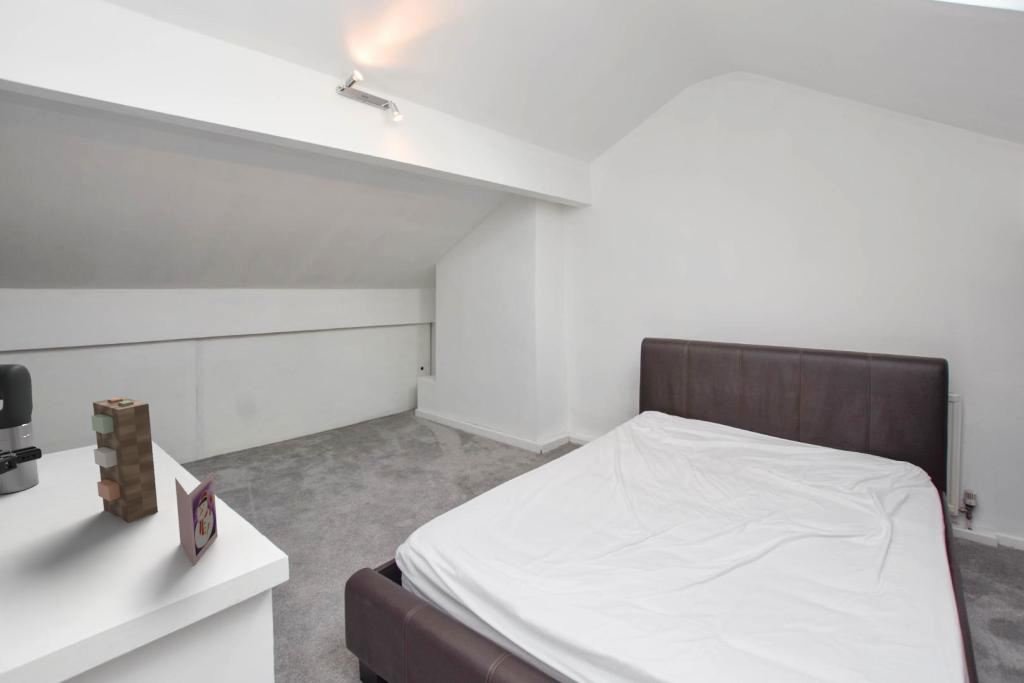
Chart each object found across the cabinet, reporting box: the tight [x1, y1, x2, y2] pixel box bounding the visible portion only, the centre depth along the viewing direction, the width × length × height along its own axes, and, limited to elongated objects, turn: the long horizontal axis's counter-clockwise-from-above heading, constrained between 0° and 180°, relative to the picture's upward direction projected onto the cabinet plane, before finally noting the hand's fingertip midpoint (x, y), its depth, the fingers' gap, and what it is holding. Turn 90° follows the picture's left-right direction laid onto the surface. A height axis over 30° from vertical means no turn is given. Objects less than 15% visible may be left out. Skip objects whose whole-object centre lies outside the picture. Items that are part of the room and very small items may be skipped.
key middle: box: [93, 447, 117, 468], centre depth 114 cm, size 5×3×3 cm, turn 62°
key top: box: [90, 414, 114, 434], centre depth 113 cm, size 5×3×3 cm, turn 62°
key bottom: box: [96, 479, 121, 501], centre depth 115 cm, size 5×3×3 cm, turn 62°
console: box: [92, 396, 159, 523], centre depth 117 cm, size 12×6×28 cm, turn 62°
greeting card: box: [174, 471, 219, 567], centre depth 101 cm, size 11×7×15 cm, turn 10°
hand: (38, 451), depth 102 cm, fingers closed
